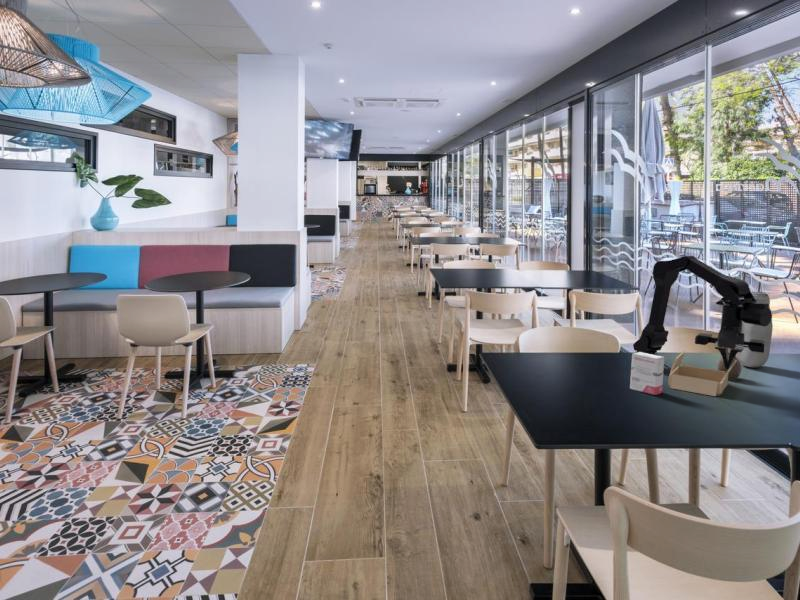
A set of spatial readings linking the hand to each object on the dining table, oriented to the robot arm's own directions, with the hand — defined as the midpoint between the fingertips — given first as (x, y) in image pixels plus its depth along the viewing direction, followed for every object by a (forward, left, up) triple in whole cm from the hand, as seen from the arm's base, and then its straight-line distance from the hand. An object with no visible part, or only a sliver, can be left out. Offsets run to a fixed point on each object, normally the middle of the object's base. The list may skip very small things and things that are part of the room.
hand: (727, 368), depth 174 cm
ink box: (-20, -16, -8) cm, 26 cm away
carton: (-8, 0, -7) cm, 11 cm away
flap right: (-1, 0, -3) cm, 3 cm away
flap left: (-15, 0, -3) cm, 15 cm away
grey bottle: (+3, +38, -8) cm, 39 cm away
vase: (-1, +16, -8) cm, 18 cm away
